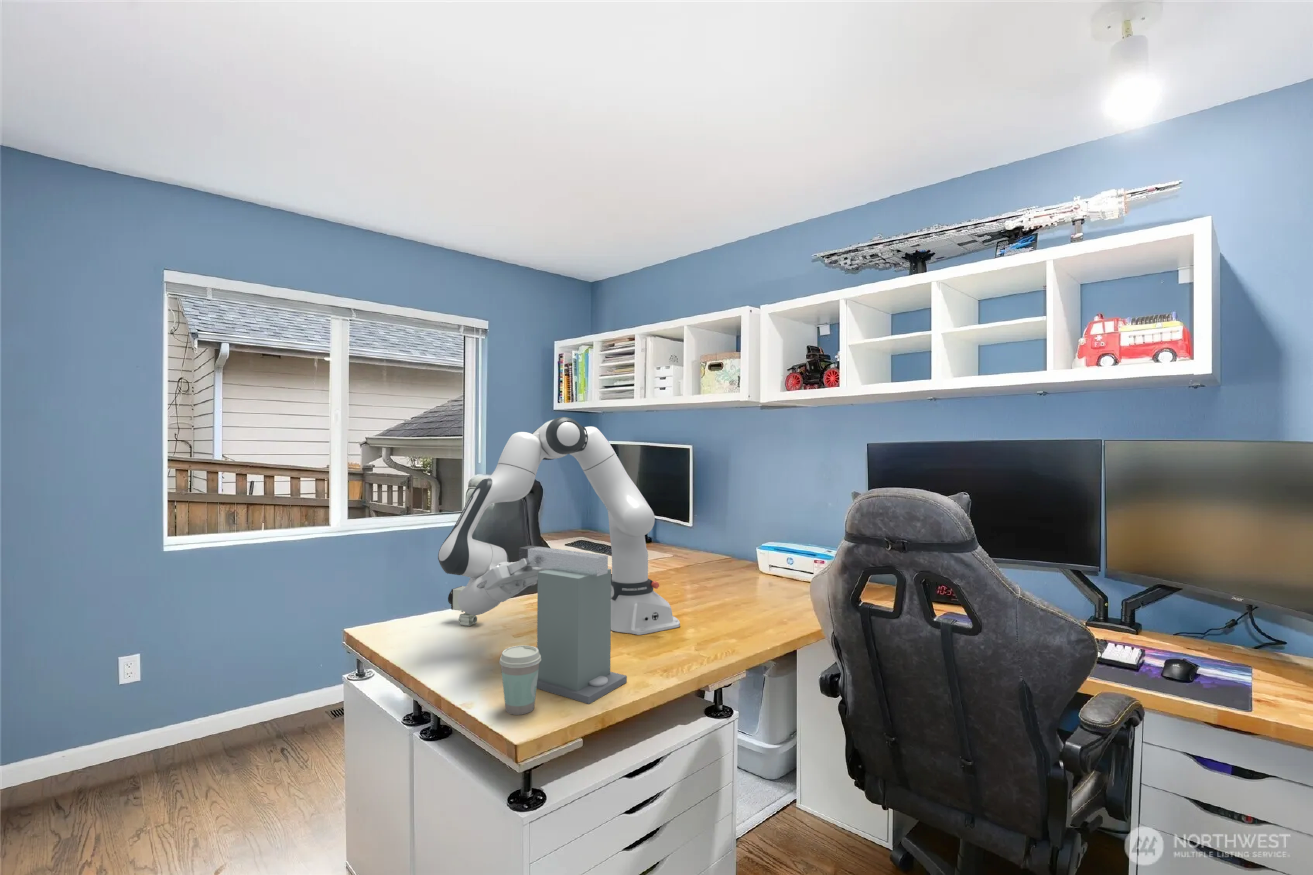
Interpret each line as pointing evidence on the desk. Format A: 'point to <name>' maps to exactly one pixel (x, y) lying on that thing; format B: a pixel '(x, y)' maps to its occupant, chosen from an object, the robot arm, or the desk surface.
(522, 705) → the coffee cup
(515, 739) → the desk surface
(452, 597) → the pneumatic valve
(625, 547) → the robot arm
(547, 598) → the press column
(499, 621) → the desk surface
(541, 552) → the lever bar
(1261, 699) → the desk surface
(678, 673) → the desk surface
